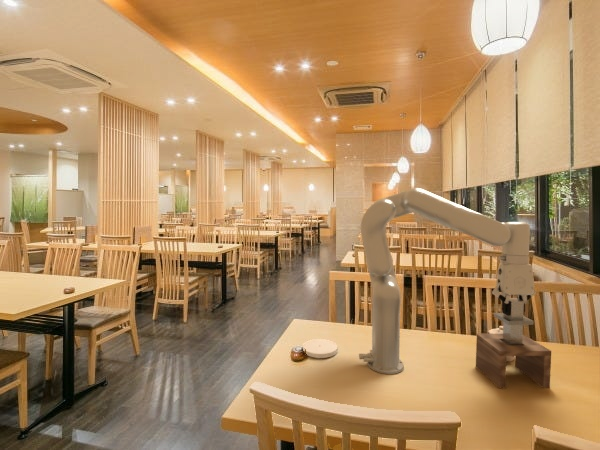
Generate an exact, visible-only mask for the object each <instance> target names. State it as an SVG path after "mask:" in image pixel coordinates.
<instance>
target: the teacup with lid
mask: <svg viewBox="0 0 600 450" xmlns="http://www.w3.org/2000/svg"><path fill="white" fill-rule="evenodd" d="M487 334H503V325H499V326H498V327H496V328H492V329H489V330H488V332H487ZM514 360H515V356H506V363H507V362H513V361H514Z"/></svg>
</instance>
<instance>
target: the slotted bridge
mask: <svg viewBox="0 0 600 450" xmlns="http://www.w3.org/2000/svg"><path fill="white" fill-rule="evenodd" d="M475 344H476V346H475V347H476V348H475V349H476V350H475V367H476V368H477V369H478V370H479V371H480V372H481V373H482V374H483V375H484V376H485V377H486V378H487V379H488V380H489V381H490V382H492V383H493V384H494V385H495V386H496V387H497V388H498V389H506V381H507V380H506V379H507V377H506V376H507V362H506V356H515V359H514V360H515V361H514V367H515V368H516V369H518V370H519V372H521V373H523V374H525V376H526V377H528V378H530V379H531V380H532V381H533V382H535V383H536V384H537V385H538V386H540V387H541V388H543V389H550V388H551V367H552V365H551V364H552V350H550V349H549V348H547V347H545V346H543V345H542V344H540V343H539V342H537V341H535V340H533V339H532V338H530V337H528V336H527V335H525V334H523V341H522V345H507V344H506V343H504V342H503V334H488V333H476V343H475Z"/></svg>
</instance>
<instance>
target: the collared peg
mask: <svg viewBox="0 0 600 450" xmlns="http://www.w3.org/2000/svg"><path fill="white" fill-rule="evenodd" d="M509 304H510V316H507V315H506V314H504V313H503V312H494V313H493V316H494V318H496V319H498V320H500V321H501V322H502V323H503V324H502V326H503V342H504V343H506V344H507V345H522V341H523V335H524V330H523V329H524V326H525V325H527V326H531V325H532V326H533V325H534V324H535V323H534V320H532V319H530V318H528V317H526V316H525V315H523V312H524V301H522V300H519V299H518V297H510V299H509ZM524 313H525V312H524Z"/></svg>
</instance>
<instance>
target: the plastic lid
mask: <svg viewBox="0 0 600 450" xmlns="http://www.w3.org/2000/svg"><path fill="white" fill-rule="evenodd" d="M301 347H304V348H305V349H306V354H307V355H306V354H305V355H306V356H308V357H310V358H316V359H325V358H329V357H333V356H335V355H337V354H338V350H339V346H338V343H336V342H335V341H332V340H329V339H326V338H325V339H324V338H314V339H309V340H307V341H305V342H303V343H302V345H301Z"/></svg>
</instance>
